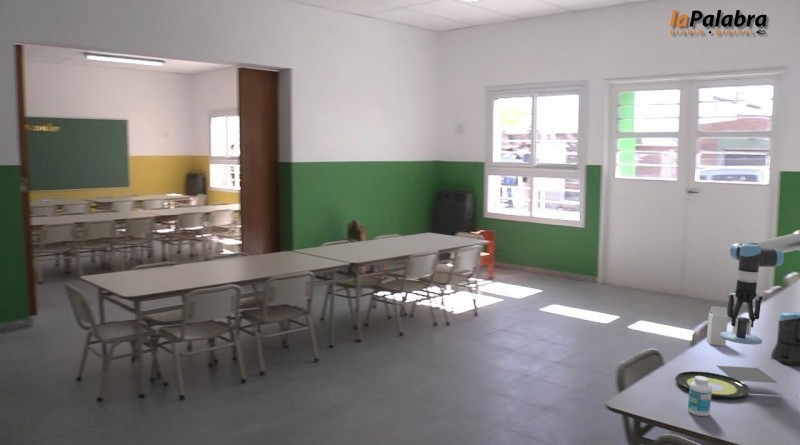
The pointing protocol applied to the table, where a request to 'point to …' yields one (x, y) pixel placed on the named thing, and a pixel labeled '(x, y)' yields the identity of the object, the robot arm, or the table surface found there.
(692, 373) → the plate
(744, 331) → the lid
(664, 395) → the table surface
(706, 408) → the pill bottle
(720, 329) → the milk carton
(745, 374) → the mat
